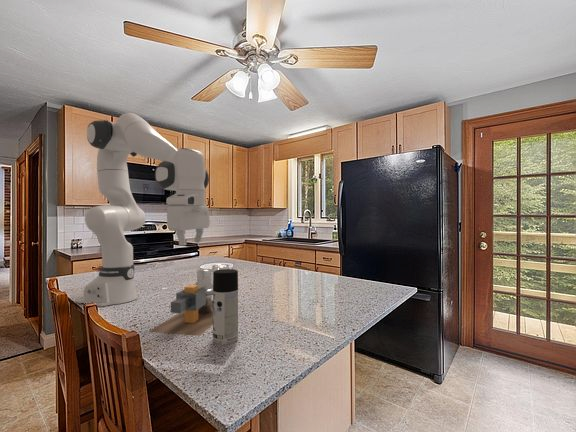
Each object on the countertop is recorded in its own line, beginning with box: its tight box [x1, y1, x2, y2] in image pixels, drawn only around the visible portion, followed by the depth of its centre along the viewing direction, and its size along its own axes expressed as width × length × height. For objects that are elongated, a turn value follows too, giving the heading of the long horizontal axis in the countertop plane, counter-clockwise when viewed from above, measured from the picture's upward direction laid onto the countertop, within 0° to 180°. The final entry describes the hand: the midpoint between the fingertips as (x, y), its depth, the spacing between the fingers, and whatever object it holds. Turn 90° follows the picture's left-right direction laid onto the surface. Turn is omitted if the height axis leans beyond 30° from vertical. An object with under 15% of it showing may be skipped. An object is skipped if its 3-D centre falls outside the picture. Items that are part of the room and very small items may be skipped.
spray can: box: [212, 268, 239, 346], centre depth 80 cm, size 7×7×20 cm
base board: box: [148, 304, 213, 337], centre depth 97 cm, size 16×26×2 cm, turn 170°
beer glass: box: [211, 263, 230, 285], centre depth 117 cm, size 7×7×15 cm
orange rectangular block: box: [183, 284, 198, 323], centre depth 94 cm, size 3×3×11 cm
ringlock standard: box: [170, 268, 213, 314], centre depth 97 cm, size 11×24×14 cm, turn 170°
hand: (190, 243), depth 94 cm, fingers open, 8 cm apart
